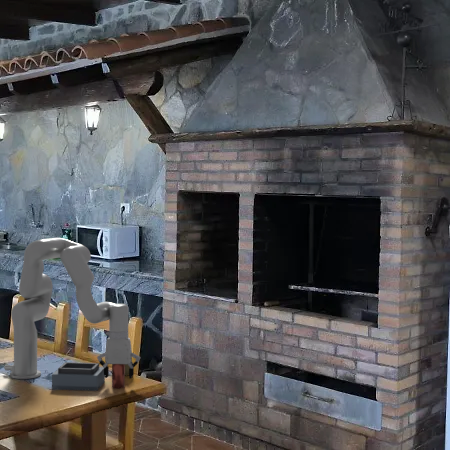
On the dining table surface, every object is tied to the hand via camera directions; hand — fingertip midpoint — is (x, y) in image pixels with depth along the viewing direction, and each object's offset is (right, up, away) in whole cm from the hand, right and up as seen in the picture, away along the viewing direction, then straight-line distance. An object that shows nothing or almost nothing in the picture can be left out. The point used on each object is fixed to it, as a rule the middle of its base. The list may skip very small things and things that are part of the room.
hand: (118, 377), depth 283 cm
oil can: (0, -4, 0) cm, 4 cm away
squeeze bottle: (-1, -3, +19) cm, 20 cm away
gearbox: (-16, -4, +1) cm, 17 cm away
